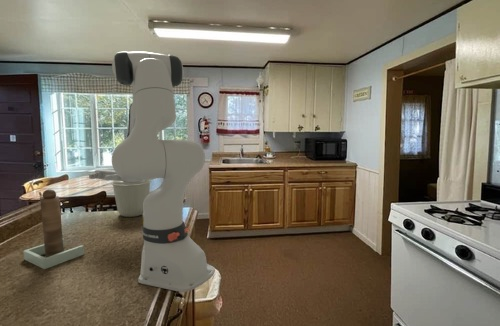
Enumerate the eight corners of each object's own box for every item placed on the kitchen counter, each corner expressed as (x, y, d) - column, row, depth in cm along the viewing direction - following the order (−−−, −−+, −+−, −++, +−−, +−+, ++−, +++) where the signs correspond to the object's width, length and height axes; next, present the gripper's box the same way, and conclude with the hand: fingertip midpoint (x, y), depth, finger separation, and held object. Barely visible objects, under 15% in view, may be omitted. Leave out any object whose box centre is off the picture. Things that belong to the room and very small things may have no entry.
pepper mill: (67, 255, 95) (61, 188, 92) (50, 261, 91) (44, 191, 88) (59, 252, 97) (53, 187, 95) (42, 258, 93) (36, 190, 90)
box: (84, 254, 96) (83, 245, 96) (44, 269, 86) (43, 259, 85) (63, 246, 102) (62, 238, 102) (24, 259, 92) (23, 250, 92)
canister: (140, 220, 131) (138, 175, 128) (105, 218, 134) (102, 174, 131) (159, 209, 149) (157, 169, 146) (127, 208, 152) (125, 169, 149)
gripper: (113, 164, 122) (80, 167, 110) (146, 166, 112) (114, 170, 100) (114, 179, 122) (82, 183, 111) (146, 182, 112) (115, 188, 100)
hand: (97, 177), depth 105 cm, fingers open, 8 cm apart
